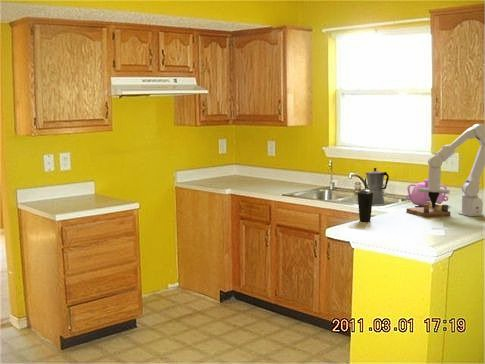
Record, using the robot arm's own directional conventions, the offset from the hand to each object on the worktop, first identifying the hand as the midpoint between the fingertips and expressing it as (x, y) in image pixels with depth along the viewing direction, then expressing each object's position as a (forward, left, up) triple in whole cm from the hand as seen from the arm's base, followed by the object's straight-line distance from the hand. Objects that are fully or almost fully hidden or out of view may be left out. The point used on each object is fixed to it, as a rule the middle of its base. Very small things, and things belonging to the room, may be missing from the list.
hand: (433, 207), depth 293 cm
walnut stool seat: (0, +3, -3) cm, 4 cm away
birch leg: (+1, -3, -1) cm, 3 cm away
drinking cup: (-6, +41, -3) cm, 41 cm away
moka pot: (+37, +10, -3) cm, 39 cm away
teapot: (+23, -12, -3) cm, 27 cm away
